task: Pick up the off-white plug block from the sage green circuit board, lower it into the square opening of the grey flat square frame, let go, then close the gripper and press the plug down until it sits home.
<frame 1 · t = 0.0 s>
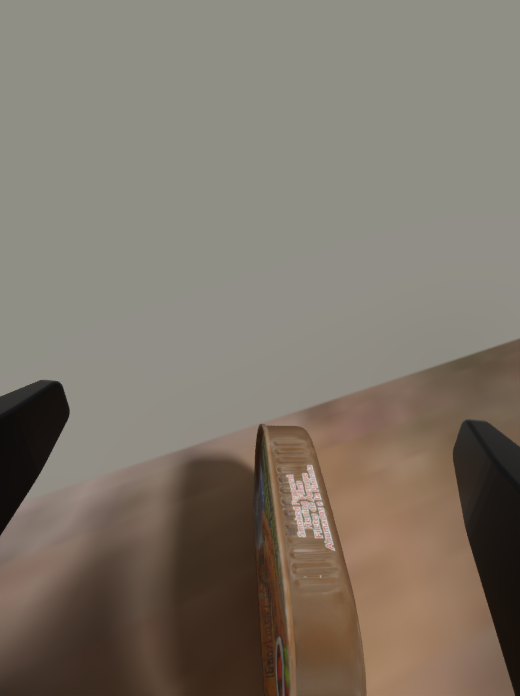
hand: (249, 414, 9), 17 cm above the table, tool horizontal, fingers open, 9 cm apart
tin: (288, 607, 21), on the table
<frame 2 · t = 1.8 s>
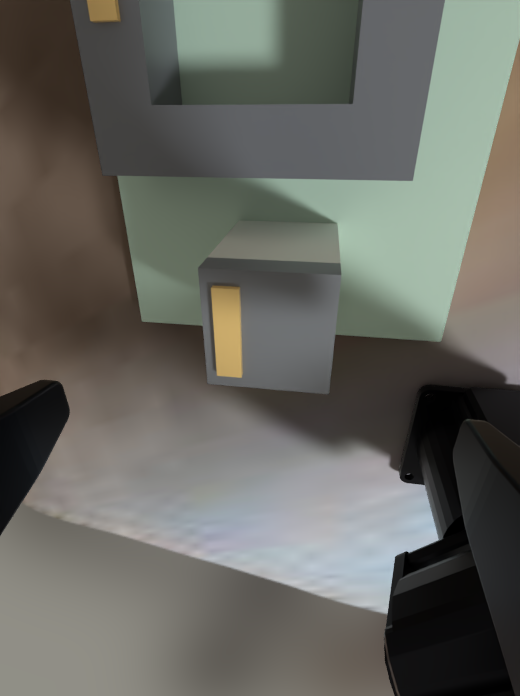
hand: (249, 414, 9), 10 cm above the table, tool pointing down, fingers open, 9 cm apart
plug: (286, 269, 17), point 1 cm above the table, touching circuit board
circuit board: (293, 106, 15), on the table
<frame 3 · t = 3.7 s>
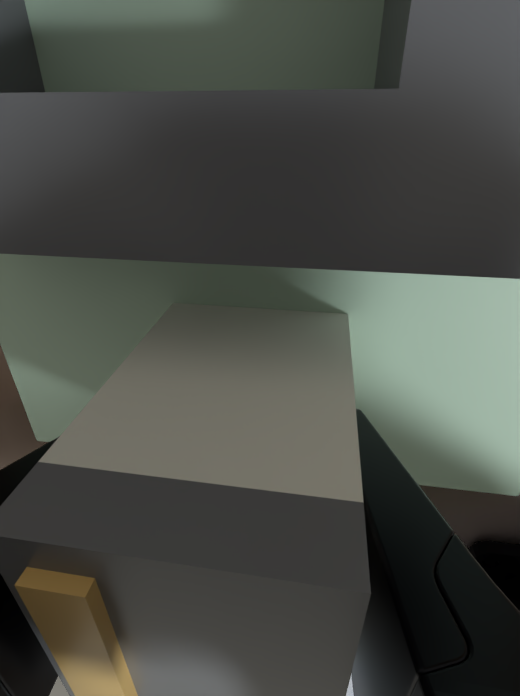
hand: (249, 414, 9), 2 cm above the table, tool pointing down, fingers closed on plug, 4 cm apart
plug: (258, 381, 10), point 1 cm above the table, touching circuit board, gripper
circuit board: (262, 101, 8), on the table
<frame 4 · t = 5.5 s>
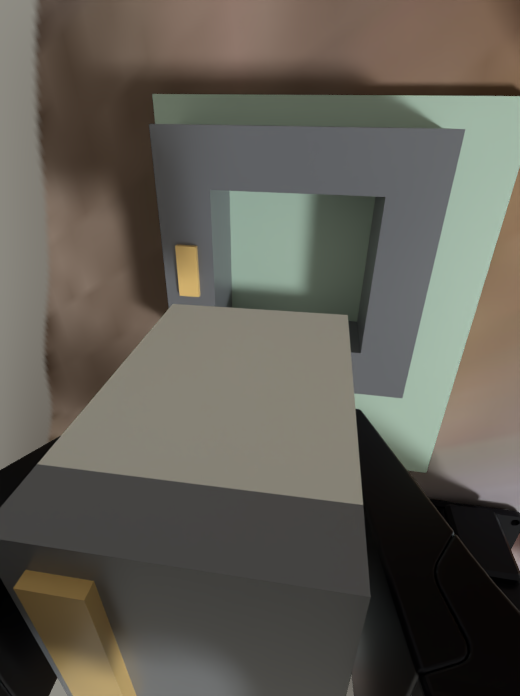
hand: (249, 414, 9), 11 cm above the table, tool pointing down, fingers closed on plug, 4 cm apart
plug: (258, 382, 10), point 10 cm above the table, touching gripper
grey flat square frame: (297, 255, 18), resting on circuit board
circuit board: (315, 311, 20), on the table
when the fingers open (4 cm above the table, at t = 7.5 s): plug drops 2 cm, resting on circuit board.
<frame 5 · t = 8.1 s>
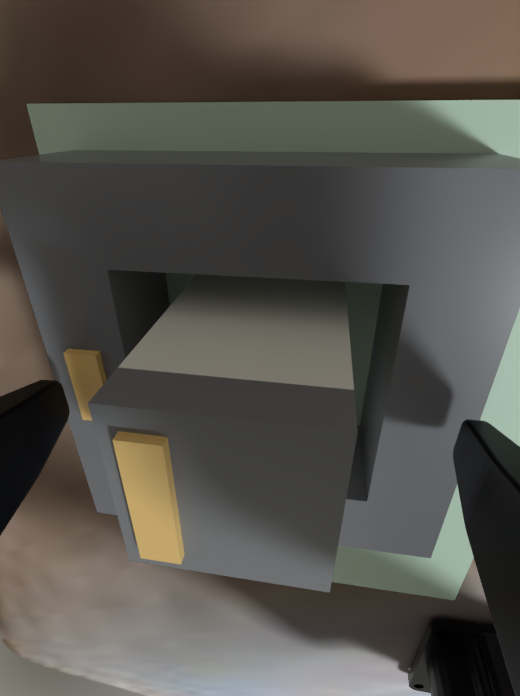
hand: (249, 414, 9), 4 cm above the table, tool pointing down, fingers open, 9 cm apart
plug: (269, 339, 12), point 1 cm above the table, touching circuit board
grey flat square frame: (269, 338, 12), resting on circuit board
circuit board: (300, 404, 14), on the table
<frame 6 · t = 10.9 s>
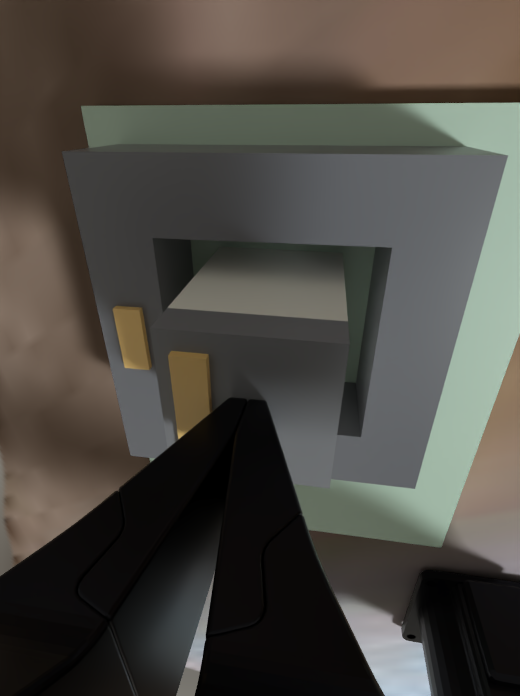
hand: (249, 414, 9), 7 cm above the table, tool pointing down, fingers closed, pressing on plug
plug: (278, 305, 14), point 1 cm above the table, touching circuit board, gripper
grey flat square frame: (278, 305, 14), resting on circuit board
circuit board: (304, 367, 16), on the table
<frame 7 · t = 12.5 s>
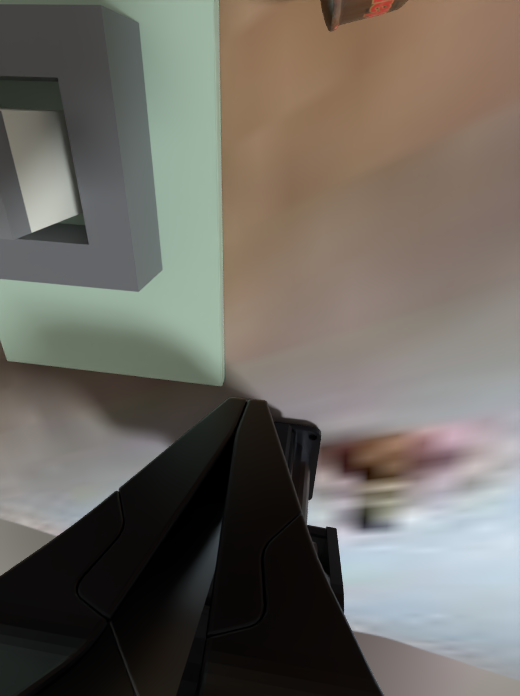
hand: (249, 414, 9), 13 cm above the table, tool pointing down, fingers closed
plug: (49, 159, 19), point 1 cm above the table, touching circuit board
grey flat square frame: (50, 158, 19), resting on circuit board
circuit board: (90, 221, 21), on the table
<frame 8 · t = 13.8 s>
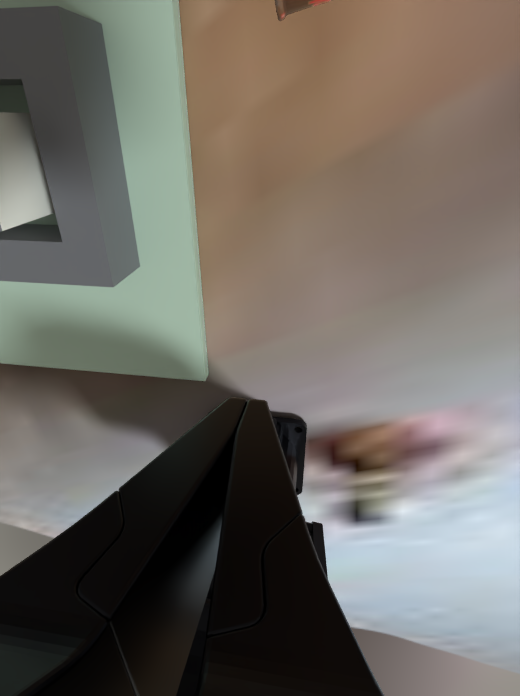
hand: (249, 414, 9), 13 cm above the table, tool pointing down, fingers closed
plug: (24, 161, 19), point 1 cm above the table, touching circuit board
grey flat square frame: (25, 160, 19), resting on circuit board
circuit board: (68, 221, 21), on the table
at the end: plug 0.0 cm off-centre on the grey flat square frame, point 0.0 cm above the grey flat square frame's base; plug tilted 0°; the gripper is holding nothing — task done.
